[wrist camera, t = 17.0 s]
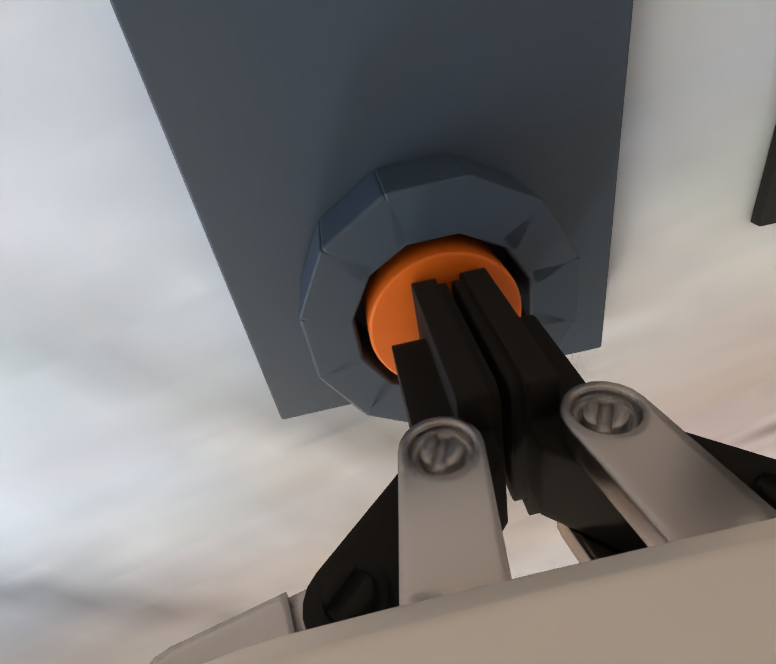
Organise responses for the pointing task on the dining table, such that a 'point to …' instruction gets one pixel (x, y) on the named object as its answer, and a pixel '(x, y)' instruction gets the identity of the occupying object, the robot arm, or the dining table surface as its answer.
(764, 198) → the desk pad
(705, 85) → the dining table surface
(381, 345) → the button
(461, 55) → the grey button base
